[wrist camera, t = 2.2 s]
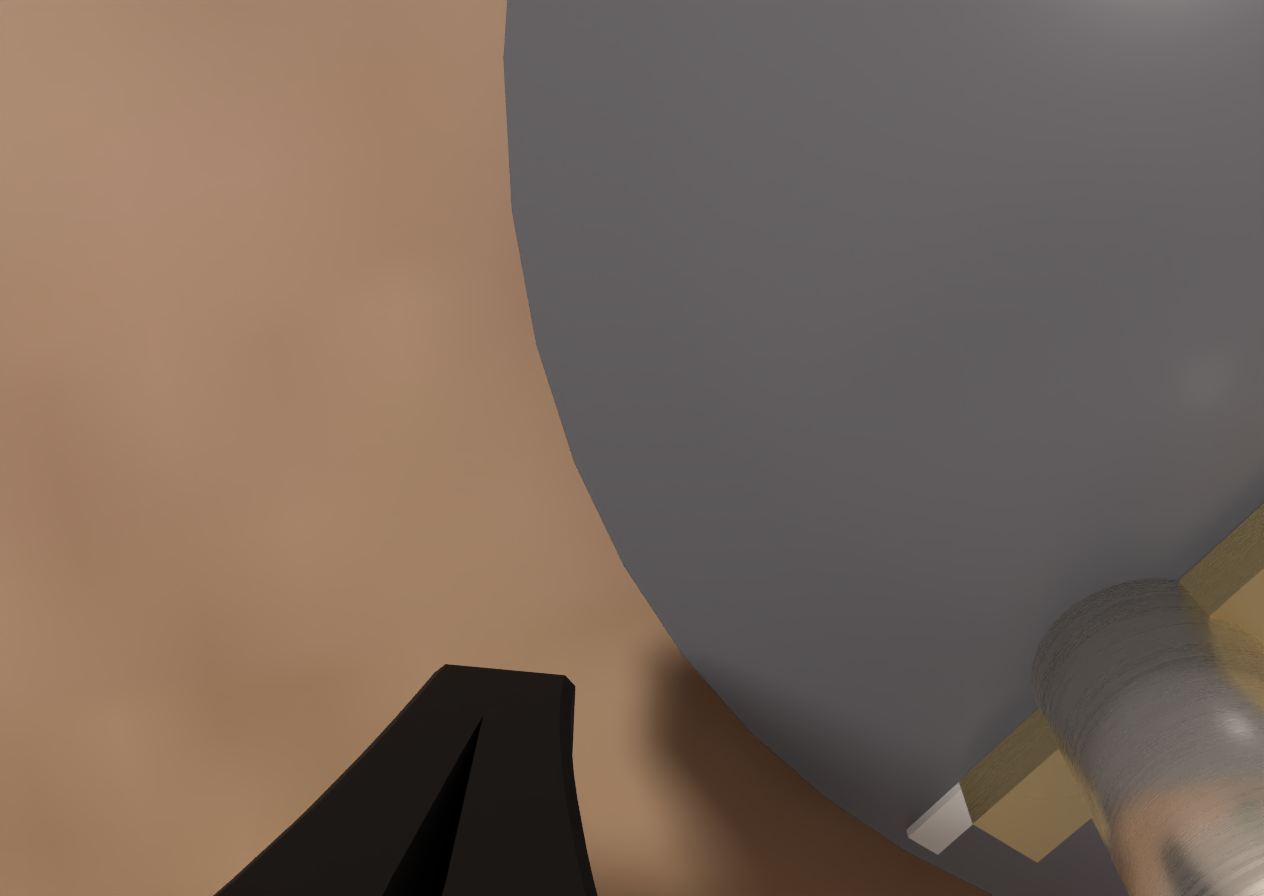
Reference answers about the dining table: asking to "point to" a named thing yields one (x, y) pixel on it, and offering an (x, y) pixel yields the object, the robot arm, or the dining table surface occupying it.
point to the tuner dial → (897, 349)
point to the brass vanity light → (1147, 731)
